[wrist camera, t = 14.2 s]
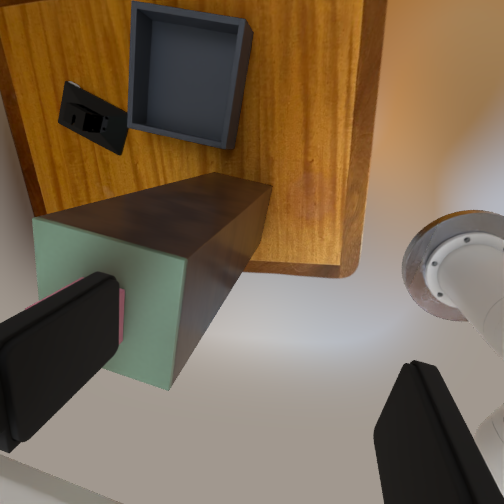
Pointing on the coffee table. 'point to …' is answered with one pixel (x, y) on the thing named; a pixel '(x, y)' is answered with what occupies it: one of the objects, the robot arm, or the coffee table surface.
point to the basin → (187, 73)
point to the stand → (158, 262)
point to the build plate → (93, 118)
